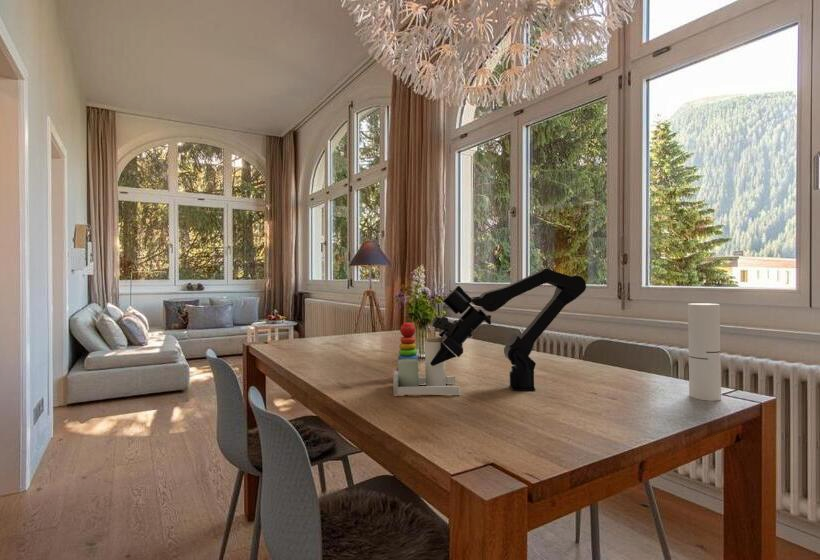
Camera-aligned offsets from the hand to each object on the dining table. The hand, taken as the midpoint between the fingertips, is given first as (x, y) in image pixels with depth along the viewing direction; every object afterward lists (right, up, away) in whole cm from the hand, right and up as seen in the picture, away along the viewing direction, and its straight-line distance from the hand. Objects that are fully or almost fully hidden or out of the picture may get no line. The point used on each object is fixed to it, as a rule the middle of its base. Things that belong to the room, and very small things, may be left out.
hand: (430, 362), depth 133 cm
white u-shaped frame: (-1, -8, 0) cm, 8 cm away
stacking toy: (-7, -8, +15) cm, 19 cm away
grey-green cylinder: (-7, -8, 0) cm, 11 cm away
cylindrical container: (+73, -7, -13) cm, 75 cm away
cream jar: (+1, -7, 0) cm, 7 cm away
